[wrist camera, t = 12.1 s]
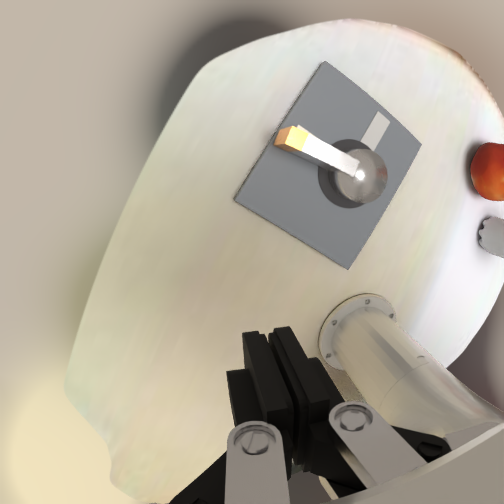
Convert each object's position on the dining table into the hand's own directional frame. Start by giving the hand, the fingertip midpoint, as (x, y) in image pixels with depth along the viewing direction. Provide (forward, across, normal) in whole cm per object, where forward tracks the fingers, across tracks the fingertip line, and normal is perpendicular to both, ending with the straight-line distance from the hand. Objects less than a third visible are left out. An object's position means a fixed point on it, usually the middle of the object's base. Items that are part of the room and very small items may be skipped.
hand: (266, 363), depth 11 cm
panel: (+27, -15, -6) cm, 31 cm away
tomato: (+27, -42, -6) cm, 51 cm away
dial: (+26, -13, -6) cm, 29 cm away
